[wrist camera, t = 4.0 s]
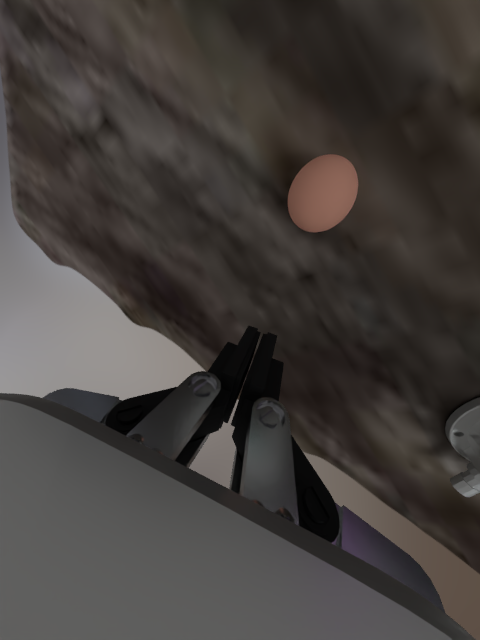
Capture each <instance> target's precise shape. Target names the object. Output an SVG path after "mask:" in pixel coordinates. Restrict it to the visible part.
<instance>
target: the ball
mask: <svg viewBox="0 0 480 640" xmlns="http://www.w3.org/2000/svg"><path fill="white" fill-rule="evenodd" d="M357 191H358V177H357V173H356V170H355V168H354V166H353V165H352V163H351V162H350V161H349V160H347V159H346V158H344V157H342V156H340V155H335V154H327V155H322V156H319V157H317V158H315V159H313V160H311V161H310V162H308V163H307V164H306V165H305V166H304V167H303V168H302V169H301V170H300V171H299V172H298V174H297V175H296V177H295V178H294V180H293V182H292V184H291V187H290V190H289V194H288V210H289V214H290V217H291V219H292V220H293V222H294V223H295V224H296V225H297V226H298V227H299V228H301V229H303V230H305V231H308V232H322V231H325V230H328V229H330V228H332V227H334V226H335V225H337V224H338V223H339V222H341V221H342V220H343V219H344V218H345V217H346V215H347V214H348V213H349V211H350V210H351V208H352V206H353V204H354V202H355V199H356V196H357Z"/></svg>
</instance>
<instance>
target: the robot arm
mask: <svg viewBox="0 0 480 640" xmlns="http://www.w3.org/2000/svg"><path fill="white" fill-rule="evenodd" d="M257 330H258V329H257V328H254V327H251V326H248V328H247V329H246V331H245V333H244V335H243V336H242V338H241V340H240V342H239V343H238V345H235V344H232V343H230V342H228V343H227V344H226V345H225V347H224V348H223V350H222V351H221V353H220V354H219V356H218V357H217V359H216V360H215V362H214V363H213V364H212V366H211V367H210V369H209V370H208V372H205V371H201V372H196V373H193V374H192V375H190V376H189V377H188V378H187V379H186V380H185V381H183V382H182V383H181V384H180V385H179V386H178V387H174V388H170V389H166V390H162V391H158V392H153V393H150V394H145V395H141V396H137V397H133V398H129V399H126V400H123V401H122V400H119V397H115V396H110V395H104V394H99V393H93V392H89V391H83V390H78V389H73V388H71V389H70V388H65V389H60V390H57V391H54V392H52V393H49V394H48V395H46V396H45V397H43V398H40V397H35V396H30V395H22V394H6V393H5V394H4V393H0V640H476V639H474V638H473V637H472V636H471V635H470V634H469V633H468V632H467V631H466V630H464V628H462V627H461V626H460V625H459V624H458V623H457V622H455V621H454V620H453V619H452V618H450V617H449V616H448V615H447V614H446V613H445V611H444V608H443V605H442V602H441V599H440V597H439V594H438V593H437V591H436V589H435V587H434V585H433V583H432V581H431V580H430V578H429V577H428V576H427V574H426V573H425V572H424V570H423V569H422V567H421V566H420V565H419V564H418V563H417V562H416V561H415V560H414V559H413V558H412V557H411V556H410V555H408V554H407V553H406V552H404V551H403V550H402V549H400V548H399V547H398V546H396V545H395V544H394V543H393V542H391V541H390V540H389V539H387V538H386V537H385V536H383V535H382V534H381V533H379V532H378V531H377V530H376V529H374V528H373V527H371V526H370V525H369V524H368V523H366V522H365V521H364V520H362V519H361V518H360V517H358V516H357V515H356V514H354V513H353V512H352V511H350V510H349V509H348V508H347V507H345V506H344V505H343V506H342V507H340V506H339V505H337V504H336V503H335V502H334V500H333V498H332V496H331V494H330V493H329V491H328V490H327V488H326V487H325V485H324V484H323V482H322V481H321V479H320V478H319V476H318V475H317V473H316V471H315V470H314V469H313V467H312V465H311V464H310V462H309V461H308V459H307V458H306V456H305V455H304V453H303V452H302V450H301V449H300V447H299V446H298V444H297V443H296V441H295V440H294V438H293V437H292V435H291V430H290V419H289V415H288V412H287V410H286V409H285V407H284V406H283V405H282V404H281V403H280V402H278V401H279V394H280V387H281V379H282V372H283V365H284V363H283V362H281V361H278V360H275V359H273V358H272V355H273V351H274V347H275V343H276V339H277V335H274V334H271V333H269V332H268V334H264V333H263V336H262V339H261V341H260V344H259V346H258V349H257V352H256V354H255V357H254V360H253V362H252V365H251V367H250V364H251V360H252V357H253V354H254V351H255V348H256V345H257V342H258V339H259V336H260V333H261V332H258V331H257ZM249 367H250V370H249V373H248V375H247V372H248V369H249ZM246 375H247V378H246V381H245V383H244V386H243V389H242V392H241V395H240V399H239V402H238V405H237V408H236V411H235V414H234V417H233V420H232V423H231V425H232V426H234V427H235V429H234V432H233V435H232V438H233V440H234V443H235V445H236V451H235V456H234V462H233V469H232V475H231V481H230V487H229V489H228V488H226V487H224V486H222V485H220V484H218V483H216V482H214V481H212V480H210V479H208V478H206V477H205V476H203V475H200V474H199V473H197V472H195V471H193V470H191V469H189V467H190V465H191V463H192V462H193V460H194V459H195V457H196V456H197V454H198V453H199V451H200V449H201V448H202V446H203V445H204V443H205V442H206V440H207V439H208V436H209V434H210V433H213V432H215V431H218V430H219V428H221V426H222V424H223V422H225V423H228V421H229V418H230V416H231V413H232V411H233V408H234V406H235V403H236V400H237V398H238V395H239V393H240V390H241V388H242V385H243V382H244V380H245V377H246ZM445 432H446V436H447V438H448V440H449V442H450V443H451V445H452V446H453V447H454V449H455V450H456V451H457V452H458V453H459V454H460V455H461V456H462V457H464V458H466V459H467V460H469V461H470V462H471V463H469V464H467V468H468V470H467V471H465V472H461V473H459V474H458V475H456V476H454V477H452V478H450V482H451V484H452V485H453V487H454V488H455V489H456V490H457V491H458V492H459V493H461V494H462V495H464V496H466V497H471V496H473V495H475V494H478V493H480V397H479V398H476V399H474V400H472V401H470V402H467V403H465V404H464V405H462V406H461V407H459V408H458V409H457V410H455V411H454V412H453V413H452V414H451V415H450V417H449V419H448V420H447V422H446V426H445Z"/></svg>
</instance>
